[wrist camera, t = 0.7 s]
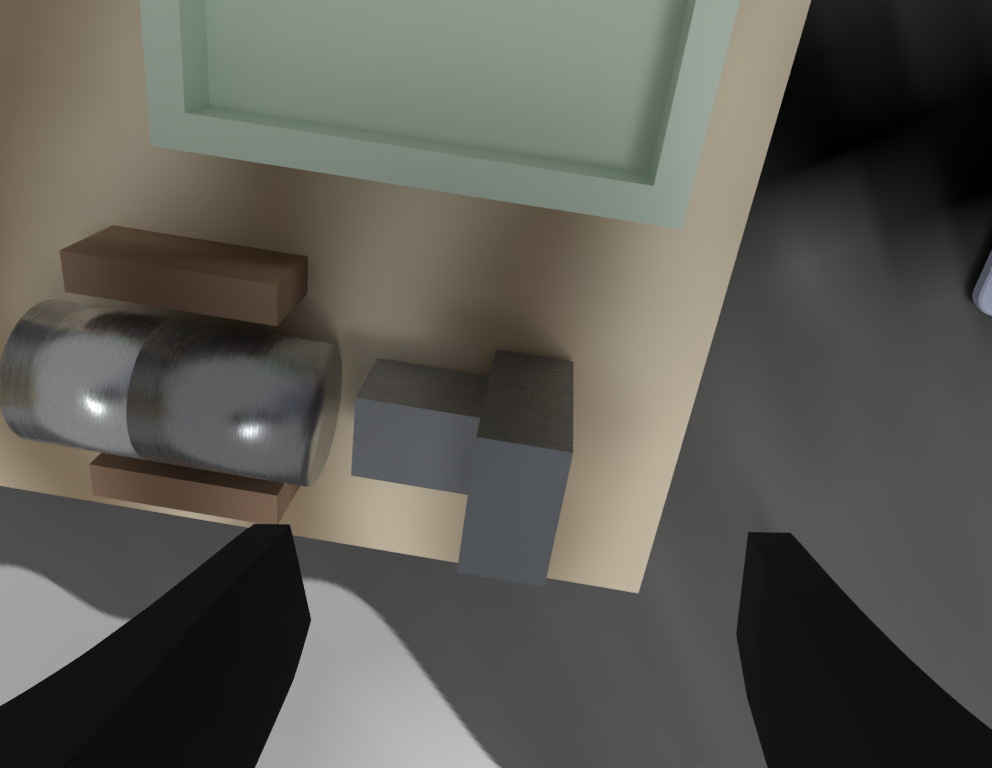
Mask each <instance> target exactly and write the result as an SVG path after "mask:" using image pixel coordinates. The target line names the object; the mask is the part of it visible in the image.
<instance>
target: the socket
mask: <svg viewBox="0 0 992 768" xmlns="http://www.w3.org/2000/svg"><path fill="white" fill-rule="evenodd" d="M59 251H60V258H61V266H62V273H63V280H64V287H65V292H68V293H75V294H81V295H87V296H93V297H99V298H106V299H112V300H118V301H124V302H130V303H136V304H143V305H149V306H155V307H161V308H167V309H173V310H180V311H186V312H192V313H198V314H204V315H210V316H217V317H223V318H229V319H235V320H241V321H247V322H254V323H260V324H266V325H272V326H278V325H279V324H280V322H281V321H282V320H283V319H284V318H285V317H286V316H287V315H288V314H289V313H290V312H291V311H292V310H293V309H294V307H295V306H296V305H297V304H298V303H299V302H300V301H301V300H302V299H303V298H304V297H305V296H306V295H307V283H308V256H303V255H296V254H290V253H284V252H278V251H271V250H265V249H259V248H253V247H246V246H240V245H234V244H227V243H221V242H215V241H209V240H202V239H196V238H190V237H184V236H177V235H171V234H165V233H159V232H152V231H146V230H140V229H134V228H127V227H121V226H115V225H112V226H110V227H108V228H106V229H104V230H102V231H100V232H97V233H95V234H93V235H91V236H89V237H87V238H85V239H83V240H80V241H78V242H76V243H74V244H72V245H70V246H68V247H66V248H63V249H61V250H59ZM89 468H90V475H91V482H92V490H93V496H99V497H105V498H111V499H117V500H123V501H129V502H135V503H141V504H147V505H153V506H159V507H164V508H170V509H176V510H182V511H188V512H194V513H200V514H206V515H212V516H218V517H224V518H230V519H236V520H242V521H248V522H254V523H260V524H279V522H280V520H281V519H282V517H283V515H284V513H285V512H286V510H287V508H288V507H289V505H290V503H291V501H292V500H293V498H294V496H295V494H296V493H297V491H298V489H299V487H300V486H298V485H292V484H286V483H280V482H274V481H268V480H262V479H256V478H250V477H244V476H238V475H232V474H226V473H220V472H214V471H208V470H202V469H196V468H190V467H184V466H178V465H172V464H166V463H160V462H154V461H148V460H142V459H136V458H130V457H124V456H118V455H112V454H106V453H101V454H100V455H98V456H97V457H96V458H95V459H94V460H93V461H92V462H91V463H90V464H89Z"/></svg>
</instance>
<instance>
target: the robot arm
mask: <svg viewBox="0 0 992 768" xmlns="http://www.w3.org/2000/svg"><path fill="white" fill-rule="evenodd" d="M972 298H973V302H974V304H975V305H976V306H977V308H978V309H980V310H981V311H982V312H984V313H986V314H988V315H991V316H992V250H991V252H990V255H989V257H988V259H987V261H986V263H985V266H984V268H983V270H982V272H981V275H980V277H979V279H978V281H977V283H976V286H975V288H974V291H973V295H972ZM310 622H311V617H310V613H309V609H308V604H307V599H306V595H305V590H304V585H303V581H302V576H301V572H300V567H299V563H298V558H297V553H296V549H295V544H294V540H293V535H292V531H291V526H290V524H253V525H252V526H251V527H249V528H248V529H246V530H245V531H244V532H242V533H241V534H240V535H238V536H237V537H236V538H235V539H233V540H232V541H231V542H229V543H228V544H227V545H226V546H224V547H223V548H222V549H221V550H219V551H218V552H217V553H216V554H215V555H213V556H212V557H211V558H210V559H208V560H207V561H206V562H205V563H203V564H202V565H201V566H200V567H198V568H197V569H196V570H195V571H193V572H192V573H191V574H190V575H188V576H187V577H186V578H185V579H183V580H182V581H181V582H180V583H178V584H177V585H176V586H174V587H173V588H172V589H171V590H169V591H168V592H167V593H166V594H164V595H163V596H162V597H161V598H159V599H158V600H157V601H155V602H154V603H153V604H152V605H150V606H149V607H148V608H146V609H145V610H144V611H142V612H141V613H139V614H138V615H137V616H135V617H134V618H133V619H131V620H130V621H128V622H127V623H126V624H124V625H123V626H122V627H120V628H119V629H118V630H116V631H115V632H113V633H112V634H111V635H109V636H108V637H107V638H105V639H104V640H102V641H101V642H100V643H98V644H97V645H96V646H95V647H93V648H92V649H90V650H89V651H87V652H86V653H84V654H83V655H81V656H80V657H79V658H77V659H75V660H74V661H73V662H71V663H69V664H68V665H66V666H65V667H63V668H62V669H60V670H59V671H57V672H55V673H54V674H52V675H51V676H49V677H48V678H46V679H44V680H43V681H41V682H39V683H38V684H36V685H35V686H33V687H32V688H30V689H28V690H27V691H25V692H24V693H22V694H20V695H18V696H17V697H15V698H13V699H12V700H10V701H8V702H7V703H5V704H3V705H1V706H0V768H255V766H256V764H257V762H258V759H259V757H260V755H261V753H262V750H263V748H264V746H265V744H266V741H267V739H268V737H269V734H270V732H271V730H272V728H273V725H274V723H275V721H276V719H277V717H278V714H279V712H280V710H281V707H282V705H283V703H284V700H285V698H286V696H287V694H288V691H289V689H290V686H291V684H292V682H293V679H294V676H295V673H296V670H297V667H298V664H299V660H300V657H301V654H302V650H303V647H304V643H305V640H306V636H307V633H308V629H309V626H310ZM736 634H737V641H738V647H739V653H740V659H741V665H742V671H743V676H744V682H745V688H746V693H747V698H748V702H749V705H750V709H751V712H752V716H753V719H754V723H755V726H756V729H757V733H758V736H759V740H760V743H761V746H762V750H763V753H764V757H765V760H766V763H767V767H768V768H992V730H991V729H990V728H989V727H988V726H986V725H985V724H984V723H983V722H981V721H980V720H979V719H978V718H976V717H975V716H974V715H973V714H971V713H970V712H969V711H968V710H966V709H965V708H964V707H963V706H962V705H961V704H959V703H958V702H957V701H956V700H955V699H954V698H952V697H951V696H950V695H949V694H948V693H947V692H945V691H944V690H943V689H942V688H941V687H940V686H939V685H938V684H936V683H935V682H934V681H933V680H932V679H931V678H930V677H929V676H928V675H927V674H926V673H924V672H923V671H922V670H921V669H920V668H919V667H918V666H917V665H916V664H915V663H914V662H912V661H911V660H910V659H909V658H908V657H907V656H906V655H905V654H904V653H903V652H902V651H901V650H900V649H899V648H898V647H897V646H896V645H895V644H894V643H893V642H892V641H891V640H890V639H889V638H888V637H887V636H886V635H885V634H884V633H883V632H882V631H881V630H880V629H879V628H878V627H877V626H876V625H875V624H874V623H873V622H872V621H871V620H870V619H869V618H868V617H867V616H866V615H865V614H864V613H863V612H862V611H861V610H860V608H859V607H858V606H857V605H856V604H855V603H854V602H853V601H852V600H851V599H850V598H849V597H848V596H847V595H846V594H845V592H844V591H843V590H842V589H841V588H840V587H839V586H838V585H837V584H836V583H835V582H834V580H833V579H832V578H831V577H830V576H829V575H828V574H827V573H826V572H825V571H824V569H823V568H822V567H821V566H820V565H819V564H818V563H817V562H816V560H815V559H814V558H813V557H812V556H811V555H810V554H809V553H808V551H807V550H806V549H805V548H804V547H803V546H802V545H801V544H800V543H799V541H798V540H797V539H796V538H795V537H794V536H793V535H792V534H791V533H765V532H748V539H747V547H746V556H745V564H744V573H743V582H742V590H741V599H740V607H739V616H738V624H737V633H736Z"/></svg>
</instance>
